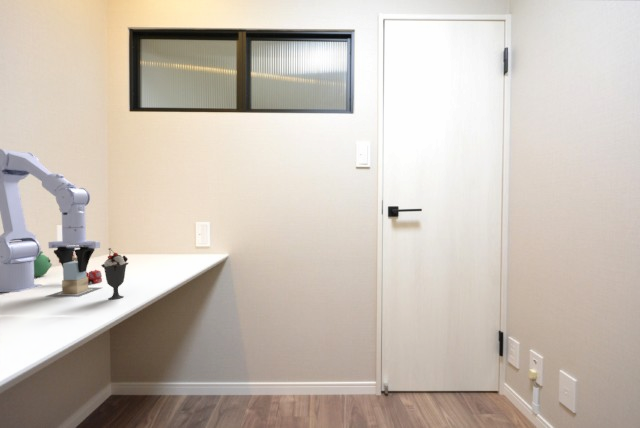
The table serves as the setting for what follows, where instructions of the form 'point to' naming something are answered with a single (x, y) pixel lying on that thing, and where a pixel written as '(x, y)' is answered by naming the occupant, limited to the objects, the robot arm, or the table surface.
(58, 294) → the grey square pad
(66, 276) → the bluegrey block
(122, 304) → the table surface
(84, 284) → the beech block
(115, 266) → the sundae
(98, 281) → the toy fire truck
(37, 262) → the alien toy
